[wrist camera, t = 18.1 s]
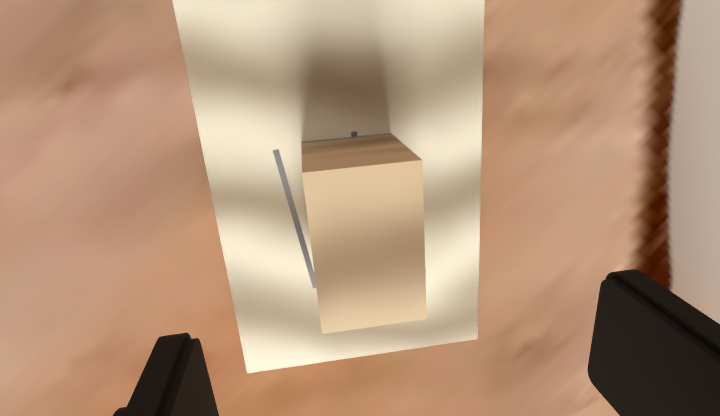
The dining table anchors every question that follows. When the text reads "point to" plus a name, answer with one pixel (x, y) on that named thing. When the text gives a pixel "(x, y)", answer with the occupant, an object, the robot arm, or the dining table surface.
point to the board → (329, 121)
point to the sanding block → (365, 230)
